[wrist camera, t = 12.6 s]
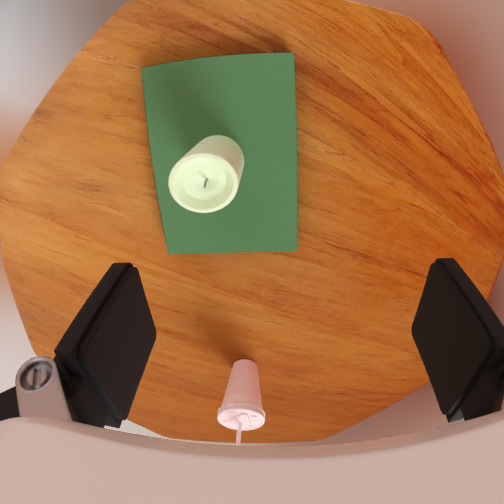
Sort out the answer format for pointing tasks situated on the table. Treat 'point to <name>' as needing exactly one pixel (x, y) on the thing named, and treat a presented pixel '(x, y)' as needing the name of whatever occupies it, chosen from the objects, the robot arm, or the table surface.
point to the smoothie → (242, 399)
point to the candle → (207, 175)
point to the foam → (243, 133)
